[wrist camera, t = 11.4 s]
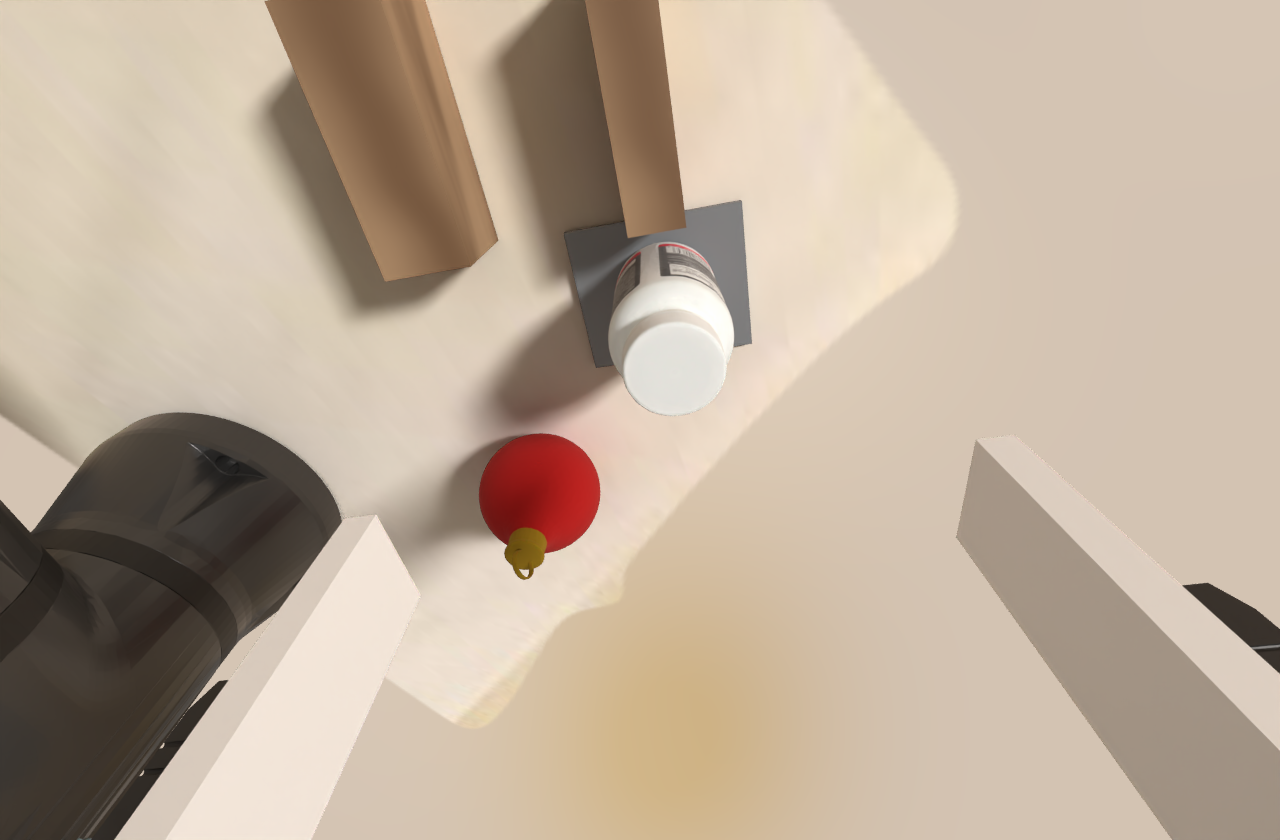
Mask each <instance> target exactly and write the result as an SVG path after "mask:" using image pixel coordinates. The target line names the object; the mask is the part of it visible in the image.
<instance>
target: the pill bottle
mask: <svg viewBox="0 0 1280 840" xmlns="http://www.w3.org/2000/svg"><path fill="white" fill-rule="evenodd" d="M608 343H609V351H610V355H611V358H612V361H613V363H614V365H615V367H616V369H617V370H618V372H619V373H620V375H621V376H622V377H623V379H624V383H625V386H626V388H627V390H628V392H629V393H630V395H631V396H632V397H633V399H634V400H635V401H636V402H637V403H638V404H639V405H641V406H642V407H644V408H645V409H647V410H649V411H651V412H653V413H656V414H660V415H665V416H681V415H686V414H690V413H693V412H695V411H698V410H700V409H701V408H703V407H705V406H706V405H707V404H709V403H710V402H711V401H712V400H713V399H714V398H715V397H716V395H717V394H718V393H719V391H720V390H721V388H722V385H723V383H724V380H725V377H726V368H727V364H728V361H729V359H730V357H731V353H732V350H733V344H734V328H733V322H732V317H731V315H730V312H729V310H728V307H727V306H726V303H725V301H724V298H723V296H722V293H721V291H720V288H719V286H718V283H717V281H716V278H715V276H714V274H713V271H712V269H711V267H710V266H709V264H708V262H707V261H706V260H705V259H704V257H703V256H702V255H701V254H699V253H698V252H697V251H696V250H694V249H692V248H691V247H688V246H686V245H683V244H680V243H676V242H659V243H654V244H651V245H648V246H646V247H644V248H642V249H640V250H639V251H637V252H636V253H634V254H633V255H632V256H631V257H630V258H629V259H628V260H627V261H626V263H625V264H624V266H623V268H622V269H621V271H620V274H619V276H618V279H617V283H616V288H615V293H614V299H613V308H612V314H611V320H610V325H609V333H608Z"/></svg>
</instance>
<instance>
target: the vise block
mask: <svg viewBox="0 0 1280 840" xmlns="http://www.w3.org/2000/svg"><path fill="white" fill-rule="evenodd" d="M265 4H266V6H267V8H268V11H269V13H270V15H271V18H272V20H273V22H274V25H275V27H276V29H277V32H278V34H279V36H280V39H281V41H282V43H283V45H284V48H285V50H286V52H287V55H288V57H289V59H290V62H291V64H292V66H293V69H294V71H295V73H296V76H297V78H298V80H299V83H300V85H301V87H302V90H303V92H304V94H305V97H306V99H307V101H308V104H309V106H310V108H311V111H312V113H313V115H314V118H315V120H316V122H317V125H318V127H319V129H320V132H321V134H322V136H323V139H324V141H325V143H326V146H327V148H328V150H329V152H330V155H331V157H332V159H333V162H334V164H335V166H336V169H337V171H338V173H339V176H340V178H341V180H342V183H343V185H344V187H345V190H346V192H347V194H348V197H349V199H350V201H351V204H352V206H353V208H354V211H355V213H356V215H357V218H358V220H359V222H360V225H361V227H362V229H363V232H364V234H365V236H366V239H367V241H368V243H369V246H370V248H371V250H372V253H373V255H374V257H375V259H376V262H377V264H378V266H379V269H380V271H381V273H382V276H383V278H384V280H385V282H387V281H392V280H398V279H403V278H409V277H414V276H420V275H426V274H431V273H437V272H442V271H448V270H453V269H459V268H465V267H470V266H472V265H473V264H474V263H475V262H476V261H477V260H478V259H479V258H480V257H481V256H482V255H483V254H484V253H485V252H487V251H488V250H489V249H490V248H491V247H492V246H493V245H494V244H495V243H496V242H497V241H498V238H497V234H496V231H495V228H494V225H493V221H492V218H491V215H490V211H489V208H488V205H487V202H486V198H485V195H484V192H483V189H482V185H481V182H480V179H479V175H478V172H477V169H476V166H475V162H474V159H473V156H472V152H471V149H470V146H469V143H468V139H467V136H466V133H465V130H464V126H463V123H462V120H461V116H460V113H459V110H458V107H457V103H456V100H455V97H454V93H453V90H452V87H451V84H450V80H449V77H448V74H447V71H446V67H445V64H444V61H443V57H442V54H441V51H440V48H439V44H438V41H437V38H436V35H435V31H434V28H433V25H432V21H431V18H430V15H429V12H428V8H427V5H426V2H425V0H268V1H265ZM585 4H586V10H587V15H588V21H589V26H590V32H591V37H592V43H593V48H594V54H595V59H596V65H597V70H598V76H599V81H600V87H601V92H602V98H603V103H604V109H605V114H606V120H607V125H608V131H609V136H610V142H611V147H612V153H613V158H614V164H615V170H616V175H617V181H618V186H619V192H620V197H621V203H622V208H623V214H624V219H625V225H626V230H627V236H628V238H632V237H637V236H643V235H648V234H654V233H659V232H665V231H671V230H676V229H682V228H686V220H685V212H684V203H683V195H682V187H681V179H680V171H679V163H678V155H677V147H676V139H675V131H674V123H673V115H672V107H671V99H670V91H669V83H668V75H667V67H666V59H665V51H664V43H663V35H662V27H661V19H660V11H659V3H658V0H585Z"/></svg>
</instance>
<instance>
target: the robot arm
mask: <svg viewBox="0 0 1280 840" xmlns="http://www.w3.org/2000/svg"><path fill="white" fill-rule="evenodd" d="M956 538H957V539H958V540H959V542H960V543H961V545H962V546H963V547H964V549H965V550H966V552H967V553H968V554H969V556H970V557H971V559H972V560H973V561H974V563H975V564H976V566H977V567H978V568H979V570H980V571H981V573H982V574H983V575H984V577H985V578H986V579H987V581H988V582H989V584H990V585H991V587H992V588H993V589H994V591H995V592H996V594H997V595H998V596H999V598H1000V599H1001V601H1002V602H1003V603H1004V605H1005V606H1006V608H1007V609H1008V610H1009V612H1010V613H1011V614H1012V616H1013V617H1014V619H1015V620H1016V622H1017V623H1018V624H1019V626H1020V627H1021V629H1022V630H1023V631H1024V633H1025V634H1026V636H1027V637H1028V639H1029V640H1030V641H1031V643H1032V644H1033V645H1034V647H1035V648H1036V650H1037V651H1038V653H1039V654H1040V655H1041V657H1042V658H1043V660H1044V661H1045V662H1046V664H1047V665H1048V667H1049V668H1050V669H1051V671H1052V672H1053V674H1054V675H1055V676H1056V678H1057V679H1058V681H1059V682H1060V683H1061V684H1062V686H1063V688H1064V689H1065V690H1066V691H1067V693H1068V694H1069V696H1070V697H1071V699H1072V700H1073V701H1074V703H1075V704H1076V706H1077V707H1078V708H1079V710H1080V711H1081V713H1082V714H1083V715H1084V717H1085V718H1086V720H1087V721H1088V722H1089V724H1090V725H1091V727H1092V728H1093V730H1094V731H1095V732H1096V734H1097V735H1098V737H1099V738H1100V739H1101V741H1102V742H1103V744H1104V745H1105V746H1106V748H1107V749H1108V750H1109V752H1110V753H1111V755H1112V756H1113V757H1114V759H1115V760H1116V762H1117V763H1118V764H1119V766H1120V767H1121V769H1122V770H1123V772H1124V773H1125V774H1126V776H1127V777H1128V779H1129V780H1130V781H1131V783H1132V784H1133V786H1134V787H1135V788H1136V790H1137V791H1138V793H1139V794H1140V795H1141V797H1142V798H1143V800H1144V801H1145V802H1146V804H1147V805H1148V807H1149V808H1150V809H1151V811H1152V812H1153V814H1154V815H1155V816H1156V818H1157V819H1158V821H1159V822H1160V823H1161V825H1162V826H1163V828H1164V829H1165V830H1166V832H1167V833H1168V835H1169V836H1170V837H1171V839H1172V840H1280V629H1279V628H1278V627H1276V626H1275V625H1274V624H1273V623H1272V622H1270V621H1269V620H1268V619H1267V618H1266V617H1264V616H1263V615H1262V614H1261V613H1260V612H1258V611H1257V610H1256V609H1254V608H1253V607H1251V606H1249V605H1247V604H1245V603H1243V602H1242V601H1240V600H1238V599H1236V598H1234V597H1233V596H1231V595H1229V594H1227V593H1225V592H1224V591H1222V590H1220V589H1218V588H1216V587H1214V586H1213V585H1211V584H1209V583H1203V584H1192V585H1181V584H1180V583H1179V582H1177V581H1176V580H1175V579H1174V578H1173V577H1172V576H1171V575H1170V574H1169V573H1167V572H1166V571H1165V570H1164V569H1163V568H1162V567H1161V566H1160V565H1159V564H1157V563H1156V562H1155V561H1154V560H1153V559H1152V558H1151V557H1150V556H1149V555H1148V554H1146V553H1145V552H1144V551H1143V550H1142V549H1141V548H1140V547H1139V546H1137V545H1136V544H1135V543H1134V542H1133V541H1132V540H1131V539H1130V538H1129V537H1128V536H1126V535H1125V534H1124V533H1123V532H1122V531H1121V530H1120V529H1119V528H1117V527H1116V526H1115V525H1114V524H1113V523H1112V522H1111V521H1110V520H1109V519H1108V518H1107V517H1105V516H1104V515H1103V514H1102V513H1101V512H1100V511H1099V510H1097V508H1095V507H1094V506H1093V505H1092V504H1091V503H1090V502H1089V501H1088V500H1087V499H1085V498H1084V497H1083V496H1082V495H1081V494H1080V493H1079V492H1078V491H1077V490H1075V489H1074V488H1073V487H1072V486H1071V485H1070V484H1069V483H1068V482H1067V481H1066V480H1064V479H1063V478H1062V477H1061V476H1060V475H1059V474H1058V473H1057V472H1056V471H1054V470H1053V469H1052V468H1051V467H1050V466H1049V465H1048V464H1047V463H1046V462H1044V461H1043V460H1042V459H1041V458H1040V457H1039V456H1038V455H1037V454H1035V452H1033V451H1032V450H1031V449H1030V448H1029V447H1028V446H1027V445H1026V444H1024V443H1023V442H1022V441H1021V440H1020V439H1019V438H1018V437H1017V436H1016V435H1009V436H1001V437H993V438H986V439H978V440H976V442H975V447H974V452H973V456H972V461H971V467H970V471H969V476H968V481H967V486H966V491H965V496H964V501H963V506H962V511H961V516H960V521H959V526H958V531H957V536H956ZM420 597H421V595H420V593H419V591H418V589H417V587H416V585H415V584H414V582H413V580H412V578H411V576H410V575H409V573H408V571H407V569H406V567H405V566H404V564H403V562H402V560H401V558H400V557H399V555H398V553H397V551H396V549H395V548H394V546H393V544H392V542H391V540H390V538H389V537H388V535H387V533H386V531H385V529H384V528H383V526H382V524H381V522H380V520H379V519H378V517H377V515H376V514H375V515H367V516H359V517H351V518H345V519H344V520H343V521H342V522H341V516H340V513H339V510H338V507H337V504H336V502H335V500H334V498H333V496H332V495H331V493H330V491H329V490H328V488H327V487H326V485H325V484H324V483H323V481H322V480H321V479H320V478H319V476H318V475H317V474H316V473H315V472H314V471H313V470H312V469H311V468H310V467H309V466H308V465H307V464H306V463H305V462H304V461H303V460H301V459H300V458H299V457H298V456H297V455H295V454H294V453H293V452H291V451H290V450H289V449H287V448H286V447H284V446H283V445H281V444H280V443H278V442H276V441H275V440H273V439H271V438H269V437H268V436H266V435H264V434H262V433H260V432H258V431H256V430H253V429H251V428H249V427H246V426H244V425H241V424H238V423H236V422H232V421H229V420H226V419H222V418H218V417H214V416H209V415H203V414H195V413H166V414H159V415H154V416H150V417H147V418H144V419H141V420H139V421H137V422H135V423H133V424H131V425H130V426H128V427H126V428H125V429H123V430H122V431H120V432H119V433H117V434H115V435H114V436H112V437H111V438H109V439H107V440H106V441H104V442H103V443H102V444H100V445H99V446H98V447H97V448H96V449H95V450H94V451H93V452H92V453H91V454H90V455H89V456H88V457H87V458H86V460H85V461H84V463H83V464H82V465H81V467H80V468H79V469H78V471H77V472H76V473H75V475H74V476H73V478H72V479H71V480H70V482H69V483H68V484H67V486H66V487H65V489H64V490H63V491H62V492H61V494H60V495H59V496H58V498H57V499H56V500H55V502H54V503H53V505H52V506H51V507H50V509H49V510H48V511H47V513H46V514H45V515H44V517H43V518H42V519H41V521H40V522H39V523H38V525H37V526H36V528H35V529H34V530H33V531H32V532H31V533H30V532H29V531H28V530H27V528H26V527H25V526H24V525H23V524H22V523H21V522H20V521H19V520H18V519H17V518H16V517H15V515H14V514H13V513H12V512H11V511H10V510H9V509H8V508H7V507H6V506H5V505H4V503H3V502H2V501H1V500H0V840H311V839H312V837H313V835H314V832H315V830H316V828H317V826H318V823H319V821H320V819H321V817H322V814H323V812H324V810H325V808H326V806H327V803H328V801H329V799H330V797H331V794H332V792H333V790H334V788H335V786H336V783H337V781H338V779H339V777H340V775H341V772H342V770H343V768H344V766H345V764H346V761H347V759H348V757H349V755H350V752H351V750H352V748H353V746H354V743H355V741H356V739H357V737H358V735H359V732H360V730H361V728H362V726H363V724H364V721H365V719H366V717H367V714H368V712H369V710H370V708H371V706H372V704H373V701H374V699H375V697H376V695H377V692H378V690H379V688H380V686H381V684H382V681H383V679H384V677H385V675H386V673H387V670H388V668H389V666H390V664H391V661H392V659H393V657H394V655H395V653H396V650H397V648H398V646H399V644H400V641H401V639H402V637H403V635H404V633H405V630H406V628H407V626H408V624H409V621H410V619H411V617H412V615H413V613H414V610H415V608H416V606H417V604H418V602H419V599H420ZM277 611H278V612H277ZM276 612H277V614H276V615H275V616H274V618H273V619H272V621H271V622H270V623H269V625H268V626H267V627H266V629H265V630H264V632H263V633H262V635H261V636H260V637H259V639H258V640H257V641H256V643H255V644H254V646H253V647H252V648H251V650H250V651H249V653H248V654H247V655H246V657H245V658H244V659H243V661H242V663H241V664H240V665H239V667H238V668H237V669H236V671H235V672H234V674H233V675H232V676H231V678H230V679H229V680H224V681H219V682H218V683H217V684H215V686H213V687H212V688H211V689H210V690H209V691H208V692H207V693H206V694H205V695H204V696H203V697H202V698H200V699H199V700H198V701H197V702H196V703H195V704H194V705H193V706H192V707H191V708H190V709H188V708H189V707H190V706H191V704H192V703H193V702H194V700H195V699H196V697H197V696H198V695H199V693H200V692H201V691H202V689H203V688H204V687H205V685H206V684H207V682H208V681H209V680H210V678H211V677H212V676H213V674H214V673H215V671H216V670H217V669H218V667H219V666H220V664H221V663H222V662H223V661H224V659H225V658H226V657H227V655H228V654H229V653H230V651H231V650H232V649H233V647H234V646H235V645H236V644H237V642H238V641H239V640H240V639H242V638H243V637H244V636H245V635H247V634H248V633H249V632H251V631H252V630H253V629H255V628H256V627H257V626H259V625H260V624H261V623H262V622H264V621H265V620H267V619H268V618H269V617H271V616H272V615H273V614H274V613H276ZM187 710H188V711H187ZM186 711H187V712H186ZM184 714H185V715H184ZM183 715H184V716H183ZM181 718H182V719H181ZM180 719H181V720H180ZM178 722H179V723H178ZM175 726H176V727H175ZM172 730H173V731H172ZM163 743H165V745H164V747H163V748H161V749H159V748H160V747H161V745H162V744H163ZM143 770H144V774H143V775H142V776H140V774H141V773H142V771H143Z"/></svg>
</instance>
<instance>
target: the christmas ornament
mask: <svg viewBox="0 0 1280 840" xmlns="http://www.w3.org/2000/svg"><path fill="white" fill-rule="evenodd" d="M599 501H600V483H599V478H598V474H597V472H596V469H595V467H594V465H593V463H592V461H591V460H590V458H589V457H588V456H587V454H586V453H585V452H584V451H583V450H582V449H581V448H580V447H578V446H577V445H576V444H574V443H573V442H571V441H569V440H567V439H565V438H563V437H560V436H556V435H552V434H541V433H540V434H530V435H525V436H522V437H519V438H517V439H515V440H512V441H511V442H509V443H507V444H506V445H505V446H503V447H502V448H501V449H500V450H498V451H497V452H496V454H495V455H494V456H493V457H492V458H491V460H490V461H489V463H488V464H487V466H486V468H485V470H484V472H483V475H482V478H481V482H480V487H479V502H480V508H481V512H482V515H483V518H484V520H485V522H486V524H487V525H488V527H489V529H490V530H491V531H492V532H493V534H494V535H495V536H496V537H497V538H498V539H499V540H501V541H502V542H503V543H505V544H506V545H507V547H506V549H505V553H504V554H505V558H506V560H507V561H508V562H509V563H510V564H511V565H512V566H513V569H514V571H515V573H516V575H517V576H518V577H519V578H520V579H523V580H525V579H529V578H530V577H531V576H532V574H533V571H534V568H536V567H538V566H540V565H541V564H542V562H543V560H544V553H550V552H554V551H558V550H560V549H563V548H565V547H567V546H569V545H571V544H572V543H573V542H575V541H576V540H577V539H579V538H580V537H581V536H582V535H583V534H584V533H585V532H586V530H587V529H588V528H589V526H590V525H591V523H592V521H593V519H594V518H595V515H596V513H597V510H598V506H599ZM519 569H523V570H528V569H529V575H528V577H525V576H524V575H522V573H521V572H520V570H519Z"/></svg>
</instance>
